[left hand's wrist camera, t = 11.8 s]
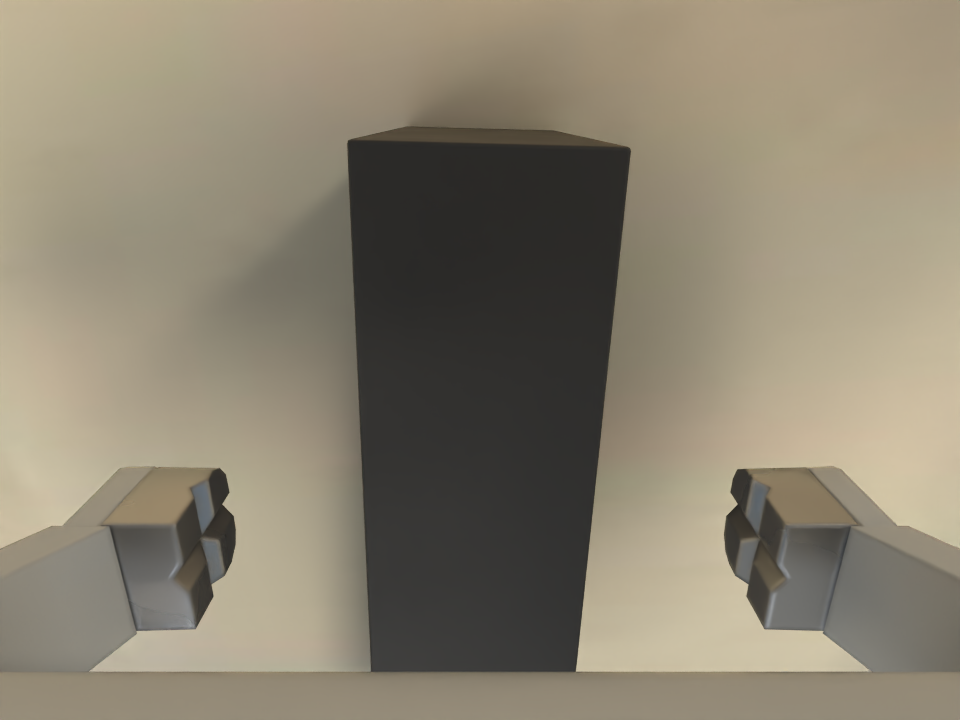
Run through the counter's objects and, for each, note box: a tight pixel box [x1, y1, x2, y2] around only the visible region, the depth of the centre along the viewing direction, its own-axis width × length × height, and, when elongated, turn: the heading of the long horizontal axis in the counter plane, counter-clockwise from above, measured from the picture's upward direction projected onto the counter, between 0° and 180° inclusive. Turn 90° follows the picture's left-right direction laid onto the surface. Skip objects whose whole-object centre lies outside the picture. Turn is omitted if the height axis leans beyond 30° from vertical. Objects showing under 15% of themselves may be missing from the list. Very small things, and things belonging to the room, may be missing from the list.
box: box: [347, 127, 631, 672], centre depth 23 cm, size 26×6×12 cm, turn 179°
